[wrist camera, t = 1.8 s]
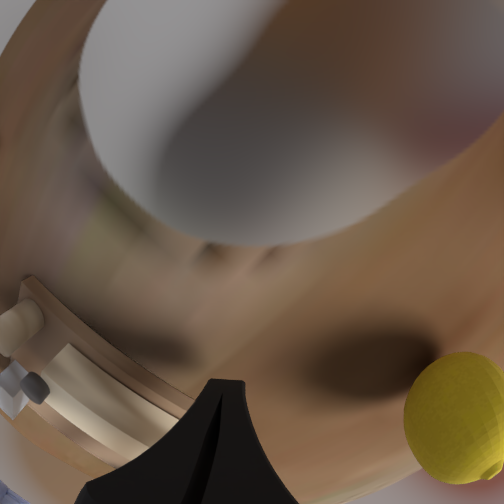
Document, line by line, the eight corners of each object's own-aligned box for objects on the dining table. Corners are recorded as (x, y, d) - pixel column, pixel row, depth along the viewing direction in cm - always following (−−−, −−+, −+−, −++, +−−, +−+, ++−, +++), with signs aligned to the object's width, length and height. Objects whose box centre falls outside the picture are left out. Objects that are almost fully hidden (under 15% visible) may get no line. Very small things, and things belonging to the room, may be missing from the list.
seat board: (15, 380, 15) (-11, 408, 11) (33, 274, 12) (-17, 304, 8) (155, 479, 17) (144, 515, 13) (241, 424, 14) (234, 482, 10)
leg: (50, 359, 12) (18, 394, 9) (58, 334, 11) (21, 369, 8) (193, 453, 13) (182, 498, 10) (215, 438, 13) (206, 488, 9)
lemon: (386, 415, 13) (425, 524, 6) (380, 349, 12) (449, 486, 4) (463, 379, 13) (521, 466, 5) (470, 308, 11) (565, 398, 4)
